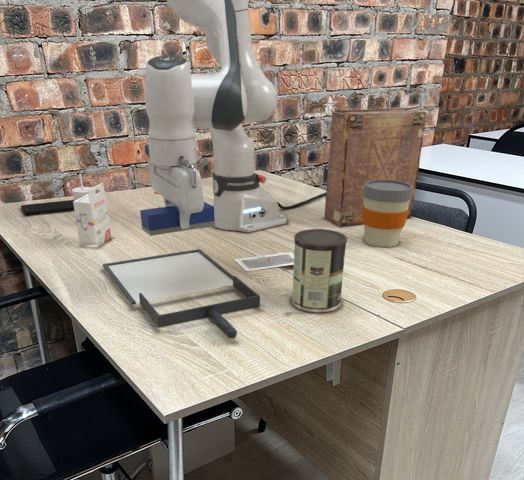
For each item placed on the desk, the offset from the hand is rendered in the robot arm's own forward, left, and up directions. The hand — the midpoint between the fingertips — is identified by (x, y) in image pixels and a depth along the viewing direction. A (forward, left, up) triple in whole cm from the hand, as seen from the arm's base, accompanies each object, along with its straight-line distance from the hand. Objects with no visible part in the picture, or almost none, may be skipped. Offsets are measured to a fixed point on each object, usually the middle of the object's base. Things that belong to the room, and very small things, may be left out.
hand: (178, 223), depth 113 cm
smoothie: (+8, -55, -15) cm, 57 cm away
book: (-69, -26, -15) cm, 76 cm away
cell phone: (+14, -74, -15) cm, 76 cm away
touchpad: (-23, -3, -14) cm, 28 cm away
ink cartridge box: (+10, -38, -15) cm, 41 cm away
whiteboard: (+1, -6, -15) cm, 16 cm away
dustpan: (+1, +16, -15) cm, 22 cm away
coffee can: (-22, +18, -15) cm, 33 cm away
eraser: (0, 0, -1) cm, 1 cm away
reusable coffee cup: (-59, -7, -15) cm, 62 cm away
